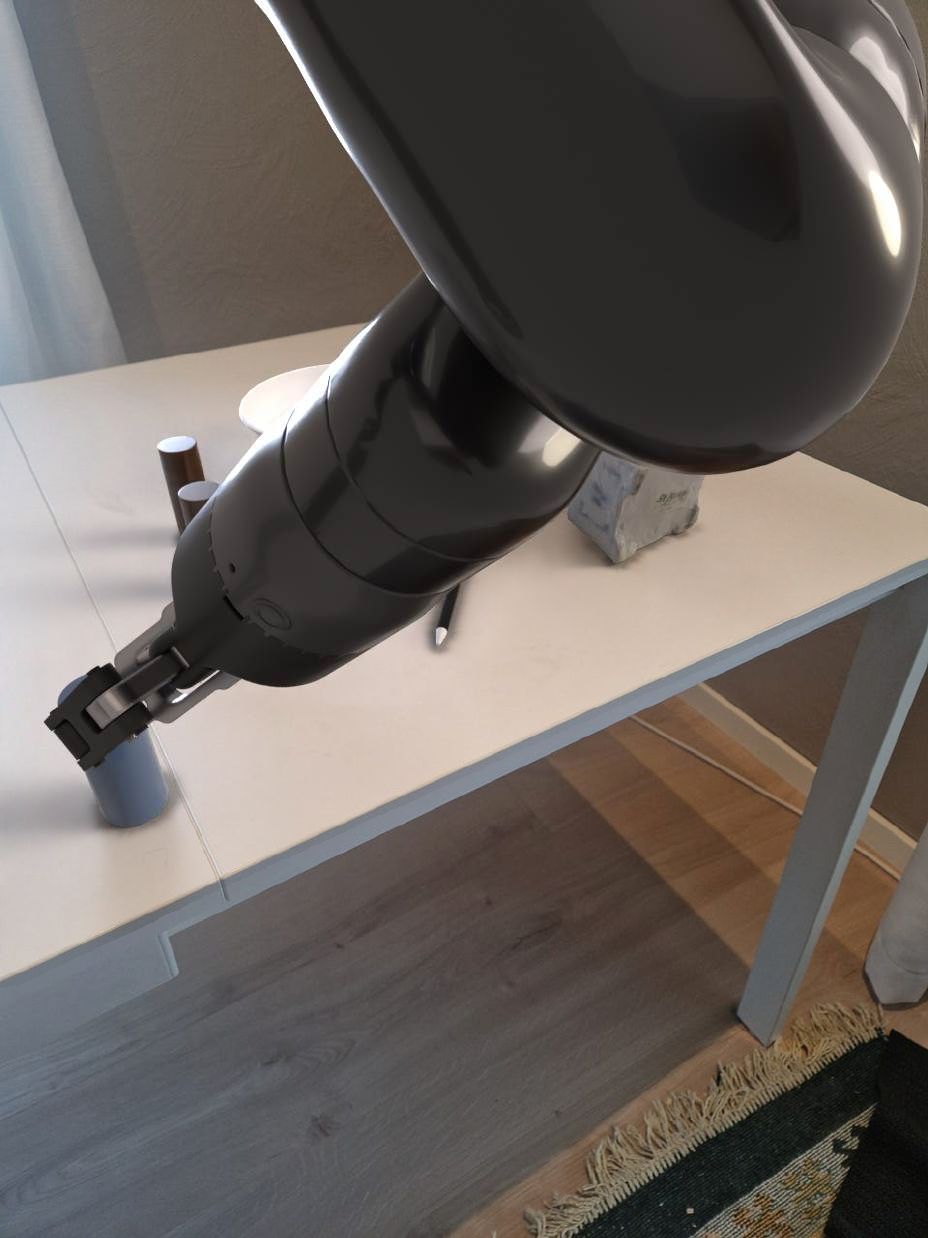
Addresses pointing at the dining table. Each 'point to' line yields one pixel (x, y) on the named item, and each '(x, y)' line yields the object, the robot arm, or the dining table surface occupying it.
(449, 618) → the pen
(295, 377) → the bowl
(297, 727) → the dining table surface
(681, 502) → the incense holder
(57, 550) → the dining table surface
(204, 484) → the pegs
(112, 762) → the cylinder
